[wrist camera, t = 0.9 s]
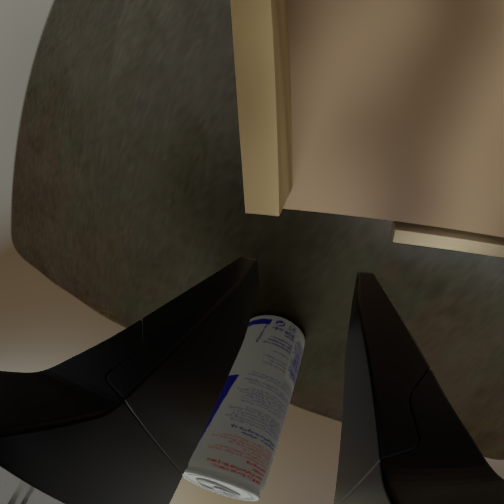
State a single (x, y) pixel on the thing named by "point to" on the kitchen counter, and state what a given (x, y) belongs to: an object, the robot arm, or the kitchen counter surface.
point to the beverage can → (249, 412)
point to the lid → (373, 109)
